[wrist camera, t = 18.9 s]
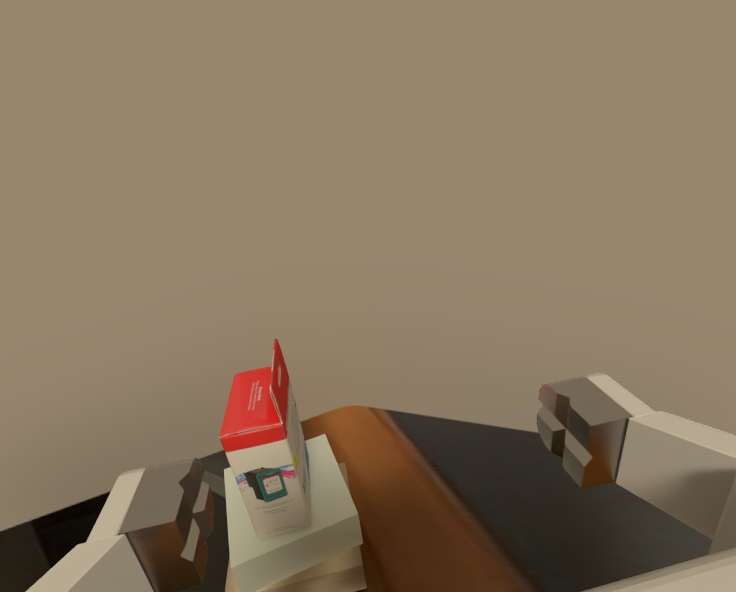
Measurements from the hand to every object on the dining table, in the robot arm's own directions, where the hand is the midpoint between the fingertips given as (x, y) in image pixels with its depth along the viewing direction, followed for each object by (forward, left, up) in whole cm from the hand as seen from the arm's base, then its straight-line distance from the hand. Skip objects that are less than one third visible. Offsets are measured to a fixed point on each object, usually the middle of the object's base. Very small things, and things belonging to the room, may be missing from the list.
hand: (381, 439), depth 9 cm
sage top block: (+7, -22, -29) cm, 37 cm away
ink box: (+7, -21, -25) cm, 33 cm away
